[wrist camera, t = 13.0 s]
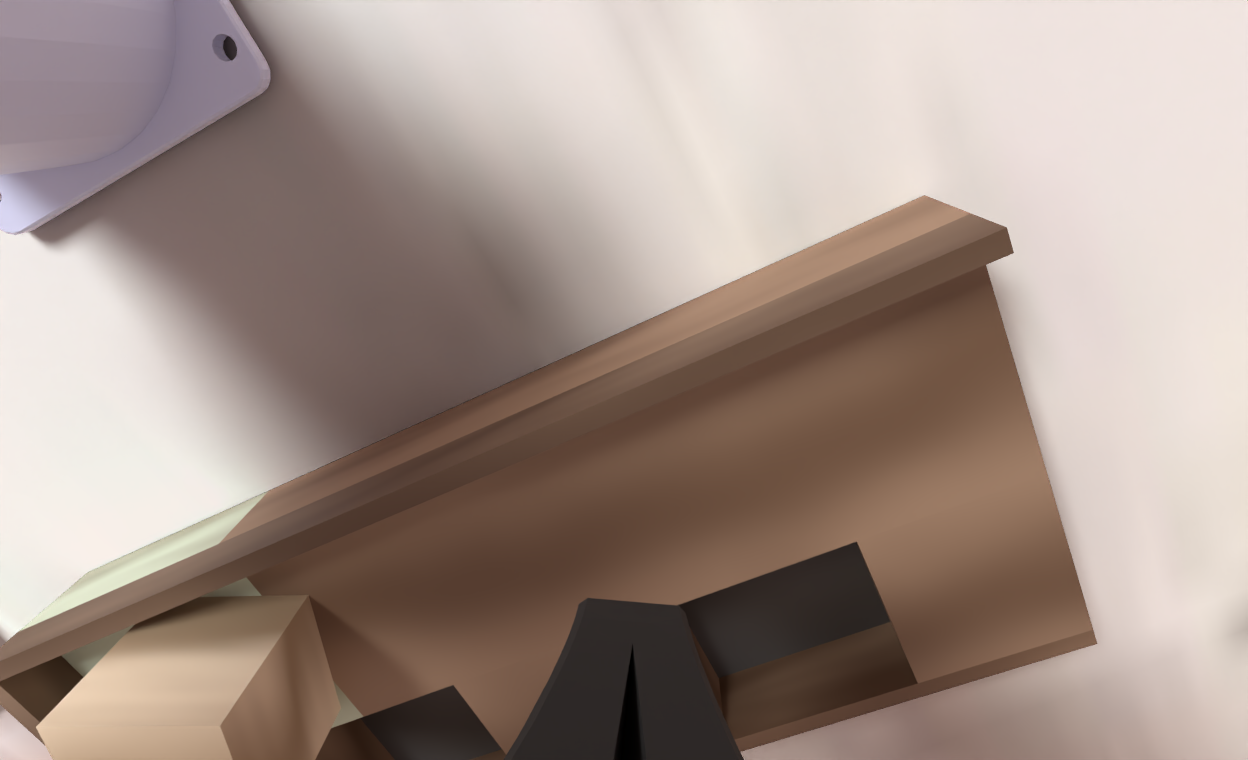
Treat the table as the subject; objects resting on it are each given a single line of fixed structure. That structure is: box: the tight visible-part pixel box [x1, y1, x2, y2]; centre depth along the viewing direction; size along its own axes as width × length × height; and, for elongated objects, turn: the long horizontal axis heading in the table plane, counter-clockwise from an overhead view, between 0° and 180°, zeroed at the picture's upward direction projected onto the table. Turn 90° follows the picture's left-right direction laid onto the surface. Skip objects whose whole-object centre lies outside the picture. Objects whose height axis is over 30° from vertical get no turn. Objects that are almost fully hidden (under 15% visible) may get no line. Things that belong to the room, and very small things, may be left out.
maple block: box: [36, 595, 341, 760], centre depth 17 cm, size 4×4×4 cm
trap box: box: [0, 195, 1097, 760], centre depth 19 cm, size 12×26×4 cm, turn 116°
